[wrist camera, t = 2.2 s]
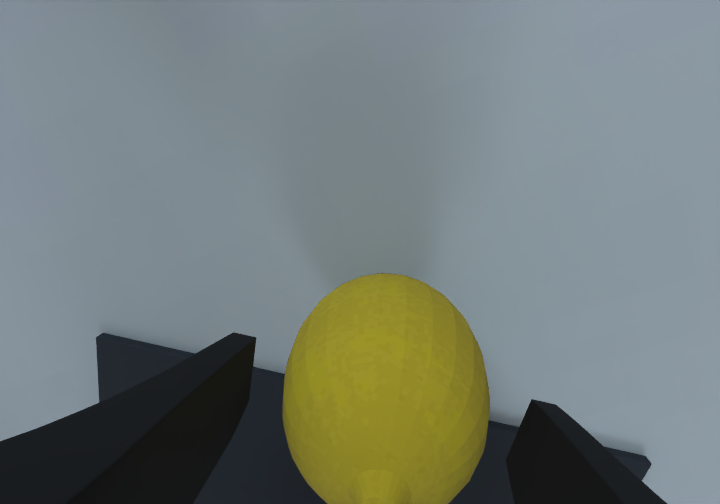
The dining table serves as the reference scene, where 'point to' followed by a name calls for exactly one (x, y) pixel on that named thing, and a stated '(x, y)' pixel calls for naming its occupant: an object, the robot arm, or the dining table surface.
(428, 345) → the lemon
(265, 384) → the mat
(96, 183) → the dining table surface
